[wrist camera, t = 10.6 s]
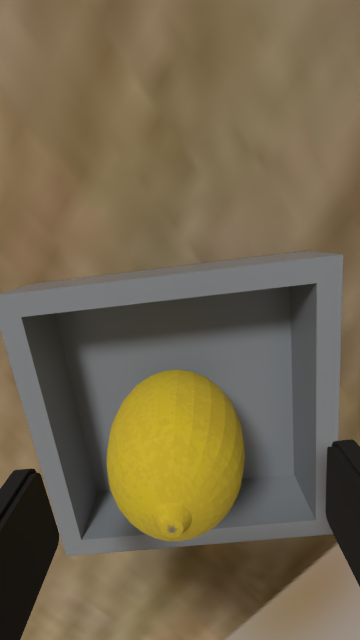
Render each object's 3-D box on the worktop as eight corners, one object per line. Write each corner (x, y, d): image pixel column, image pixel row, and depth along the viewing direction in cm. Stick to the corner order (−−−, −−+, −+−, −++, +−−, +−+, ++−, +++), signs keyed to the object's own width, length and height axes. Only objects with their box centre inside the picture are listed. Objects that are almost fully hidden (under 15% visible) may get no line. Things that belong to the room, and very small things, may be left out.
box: (33, 283, 15) (-10, 296, 12) (306, 250, 15) (342, 254, 11) (87, 499, 19) (66, 556, 15) (307, 479, 18) (335, 533, 15)
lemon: (250, 396, 16) (306, 538, 8) (176, 453, 17) (167, 625, 10) (182, 325, 15) (176, 411, 7) (108, 389, 16) (37, 523, 9)
